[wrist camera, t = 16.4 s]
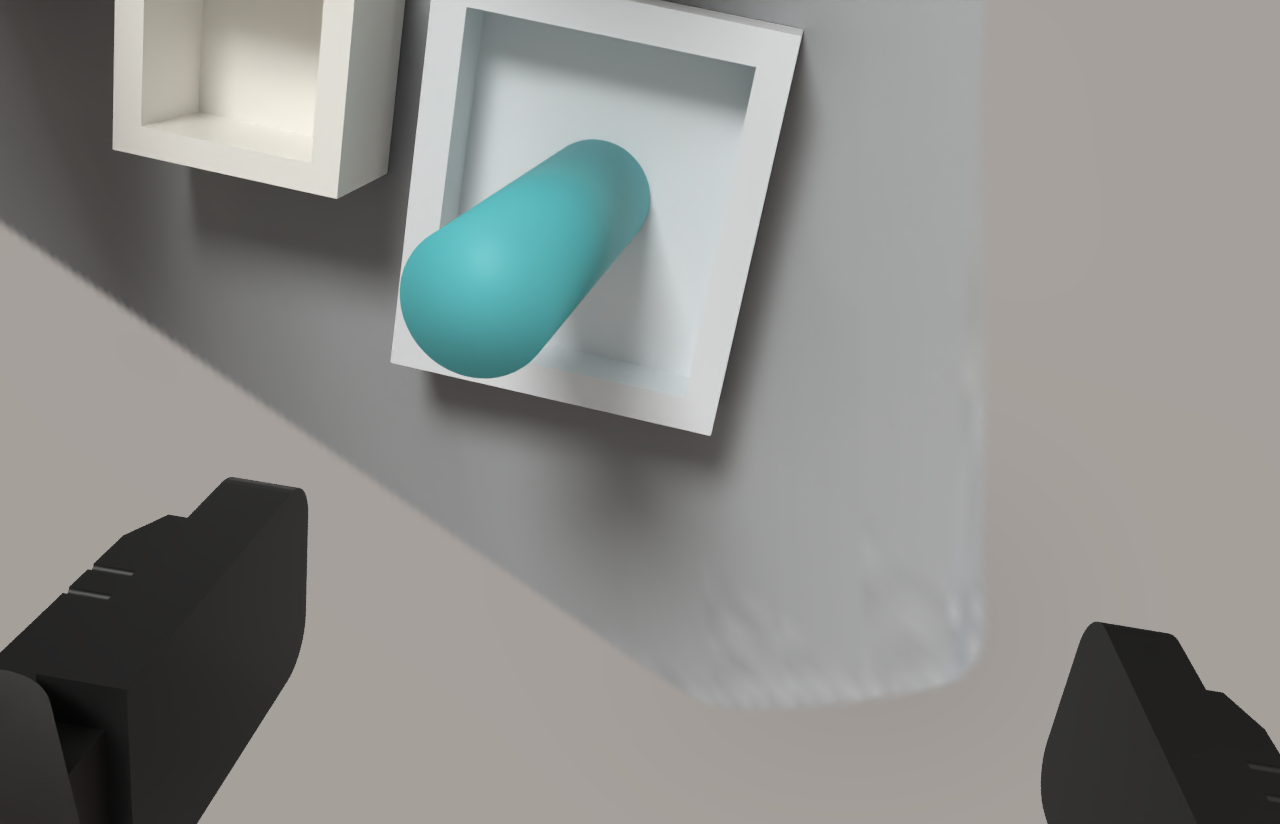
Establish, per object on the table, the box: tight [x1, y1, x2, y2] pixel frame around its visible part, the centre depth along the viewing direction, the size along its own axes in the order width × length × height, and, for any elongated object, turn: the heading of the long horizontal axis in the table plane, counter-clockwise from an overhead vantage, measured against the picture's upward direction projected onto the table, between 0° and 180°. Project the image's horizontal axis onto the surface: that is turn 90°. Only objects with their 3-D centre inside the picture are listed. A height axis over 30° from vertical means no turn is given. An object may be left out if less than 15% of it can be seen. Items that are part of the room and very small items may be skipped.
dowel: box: [400, 139, 650, 379], centre depth 36 cm, size 4×4×14 cm
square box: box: [113, 0, 405, 199], centre depth 41 cm, size 8×8×5 cm
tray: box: [391, 0, 804, 436], centre depth 42 cm, size 12×14×4 cm
